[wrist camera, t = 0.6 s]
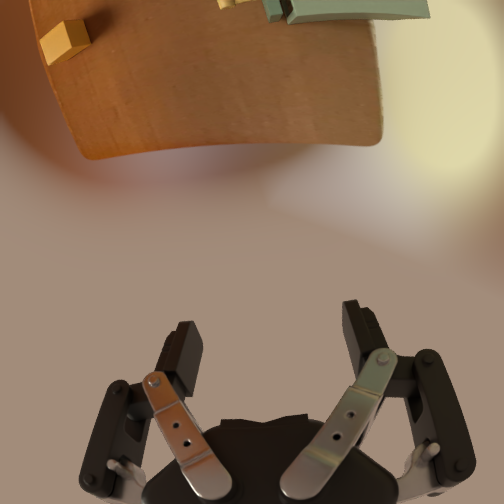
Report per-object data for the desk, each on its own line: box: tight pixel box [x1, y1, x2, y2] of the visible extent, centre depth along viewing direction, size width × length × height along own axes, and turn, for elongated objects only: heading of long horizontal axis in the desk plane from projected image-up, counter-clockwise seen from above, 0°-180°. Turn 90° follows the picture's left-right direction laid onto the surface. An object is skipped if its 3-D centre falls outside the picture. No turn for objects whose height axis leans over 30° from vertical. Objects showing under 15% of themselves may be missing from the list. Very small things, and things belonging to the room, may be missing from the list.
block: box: [40, 20, 91, 66], centre depth 22 cm, size 5×5×5 cm
